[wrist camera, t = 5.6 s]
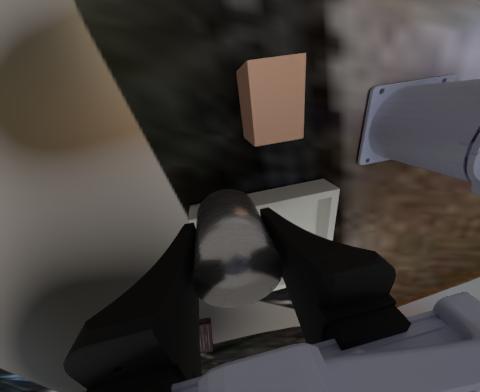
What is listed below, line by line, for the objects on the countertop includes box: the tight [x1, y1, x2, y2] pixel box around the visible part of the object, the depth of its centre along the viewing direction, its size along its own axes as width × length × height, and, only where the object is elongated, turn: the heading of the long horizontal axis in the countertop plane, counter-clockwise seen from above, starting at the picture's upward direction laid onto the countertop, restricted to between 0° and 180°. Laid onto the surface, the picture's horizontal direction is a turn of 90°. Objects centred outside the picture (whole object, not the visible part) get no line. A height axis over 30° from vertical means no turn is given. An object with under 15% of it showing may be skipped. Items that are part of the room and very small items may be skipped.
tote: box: [188, 179, 340, 291], centre depth 23 cm, size 16×14×3 cm
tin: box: [192, 189, 284, 308], centre depth 11 cm, size 4×4×6 cm
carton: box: [236, 53, 306, 147], centre depth 15 cm, size 4×6×4 cm
